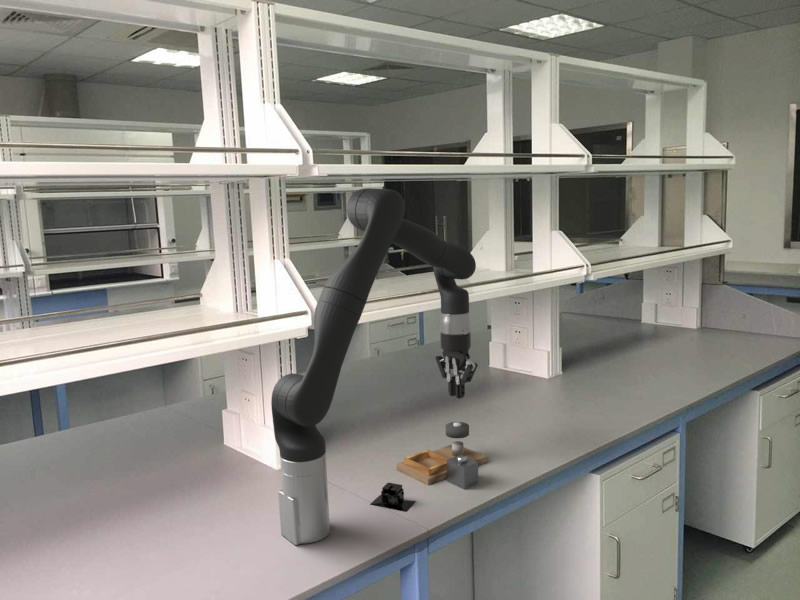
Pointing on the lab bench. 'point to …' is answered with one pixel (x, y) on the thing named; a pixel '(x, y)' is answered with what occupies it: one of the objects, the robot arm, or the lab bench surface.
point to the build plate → (393, 498)
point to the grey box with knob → (462, 471)
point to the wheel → (457, 430)
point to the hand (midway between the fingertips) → (456, 396)
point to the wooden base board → (436, 462)
